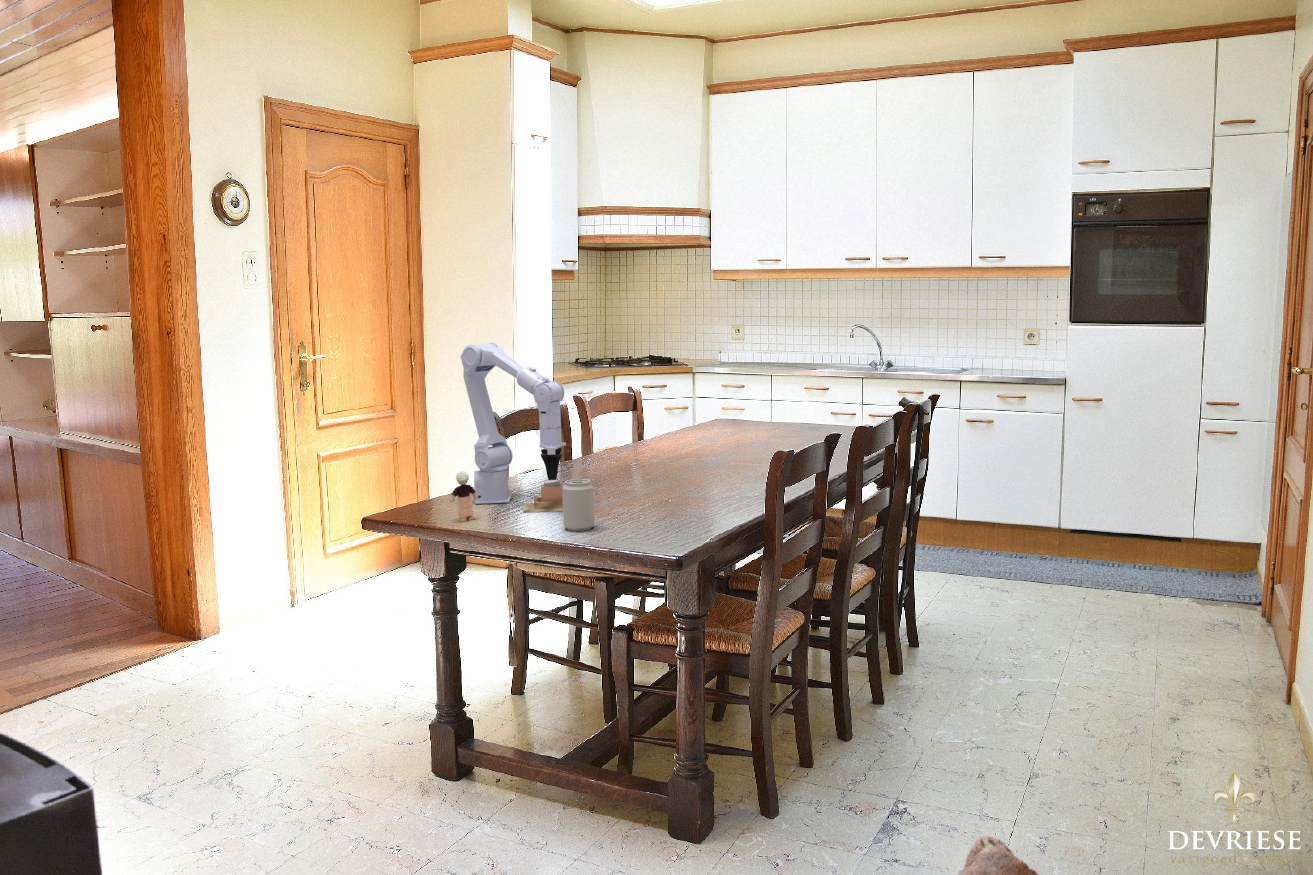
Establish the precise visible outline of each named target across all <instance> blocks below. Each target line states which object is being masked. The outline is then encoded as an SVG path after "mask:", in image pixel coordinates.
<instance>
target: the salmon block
mask: <svg viewBox="0 0 1313 875" xmlns="http://www.w3.org/2000/svg"><path fill="white" fill-rule="evenodd" d="M563 486H564V483H561V481H559V482H558V481H556V482H553V481H552V482H543V484H540V494H541V495H540V497H541V502H548V501H563V492H562V488H563Z"/></svg>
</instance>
